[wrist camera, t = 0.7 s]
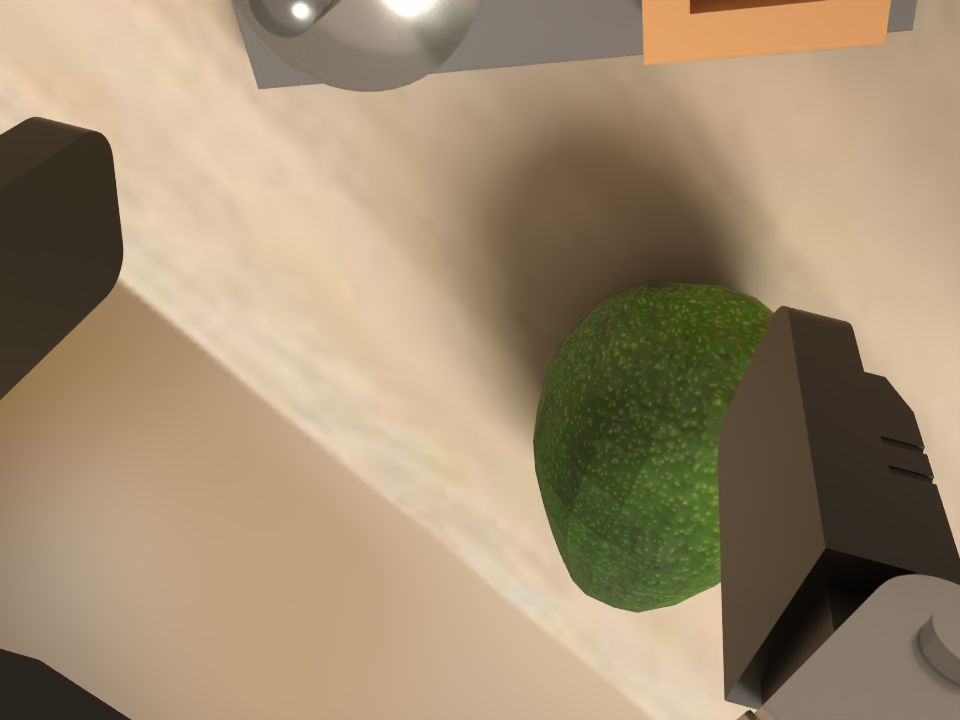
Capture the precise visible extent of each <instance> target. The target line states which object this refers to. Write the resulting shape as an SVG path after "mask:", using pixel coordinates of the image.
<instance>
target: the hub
mask: <svg viewBox="0 0 960 720" xmlns="http://www.w3.org/2000/svg"><path fill="white" fill-rule="evenodd" d="M234 1H235V3H236V5H237V7H238V9H239V10H240V12H241V13H242V15H243V17H244V18H245V20H246V22H247V23H248V24H249V25H250V27H251V28H252V29H253V31H254V32H255V33H256V35H257V36H258V37H259V38H260V39H261V40H262V41H263V42H264V43H265V44H266V46H267V47H268V48H269V49H270V50H271V51H272V52H274V53H275V54H276V55H277V56H278V57H279V58H281V59H282V60H283V61H284V62H286V63H287V64H288V65H290V66H291V67H293V68H294V69H296V70H297V71H299V72H301V73H302V74H304V75H306V76H308V77H310V78H312V79H314V80H316V81H319V82H321V83H324V84H327V85H329V86H333V87H337V88H341V89H345V90H352V91H360V92H375V91H384V90H391V89H395V88H399V87H402V86H405V85H409V84H411V83H413V82H415V81H417V80H419V79H421V78H423V77H425V76H426V75H428V74H429V73H431V72H432V71H434V70H435V69H437V68H438V67H439V66H440V65H441V64H442V63H444V62H445V61H446V60H447V59H448V58H449V57H450V56H451V55H452V53H453V52H454V51H455V50H456V49H457V47H458V46H459V45H460V44H461V42H462V41H463V39H464V37H465V36H466V34H467V33H468V31H469V29H470V28H471V26H472V24H473V22H474V20H475V18H476V15H477V13H478V11H479V9H480V5H481V2H482V0H234Z"/></svg>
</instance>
